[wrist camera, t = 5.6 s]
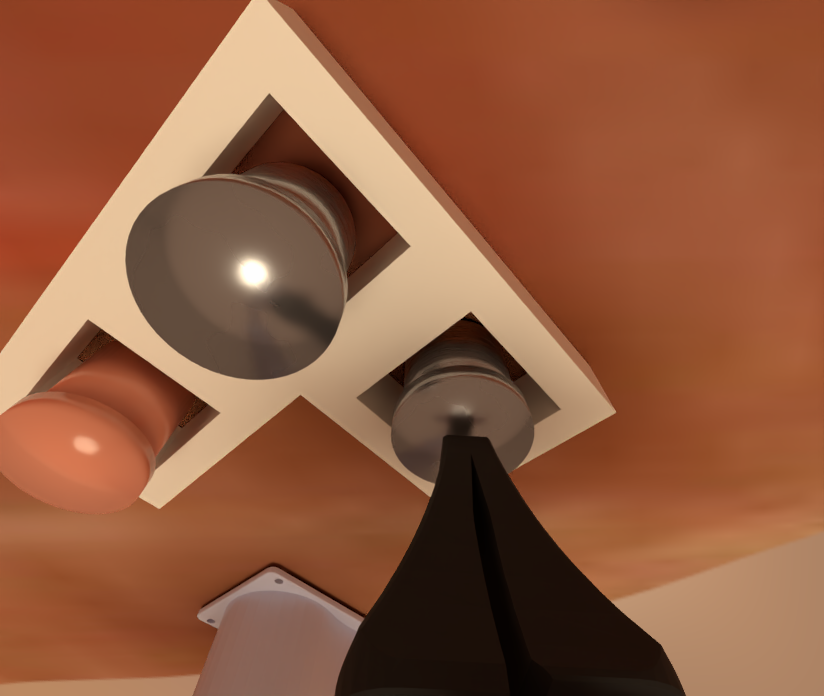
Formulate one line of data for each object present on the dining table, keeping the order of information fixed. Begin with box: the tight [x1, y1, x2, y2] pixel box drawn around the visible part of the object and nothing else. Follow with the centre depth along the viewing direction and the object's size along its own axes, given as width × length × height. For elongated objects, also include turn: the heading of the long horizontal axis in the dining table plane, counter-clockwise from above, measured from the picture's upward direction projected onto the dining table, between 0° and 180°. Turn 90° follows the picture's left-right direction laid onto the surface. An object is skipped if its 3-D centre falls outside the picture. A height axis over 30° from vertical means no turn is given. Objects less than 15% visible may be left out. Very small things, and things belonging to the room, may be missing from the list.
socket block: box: [0, 0, 616, 509], centre depth 17 cm, size 16×18×3 cm
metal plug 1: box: [125, 162, 356, 380], centre depth 11 cm, size 5×5×4 cm
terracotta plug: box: [0, 341, 195, 514], centre depth 16 cm, size 5×5×4 cm
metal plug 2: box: [391, 320, 534, 484], centre depth 16 cm, size 5×5×4 cm
